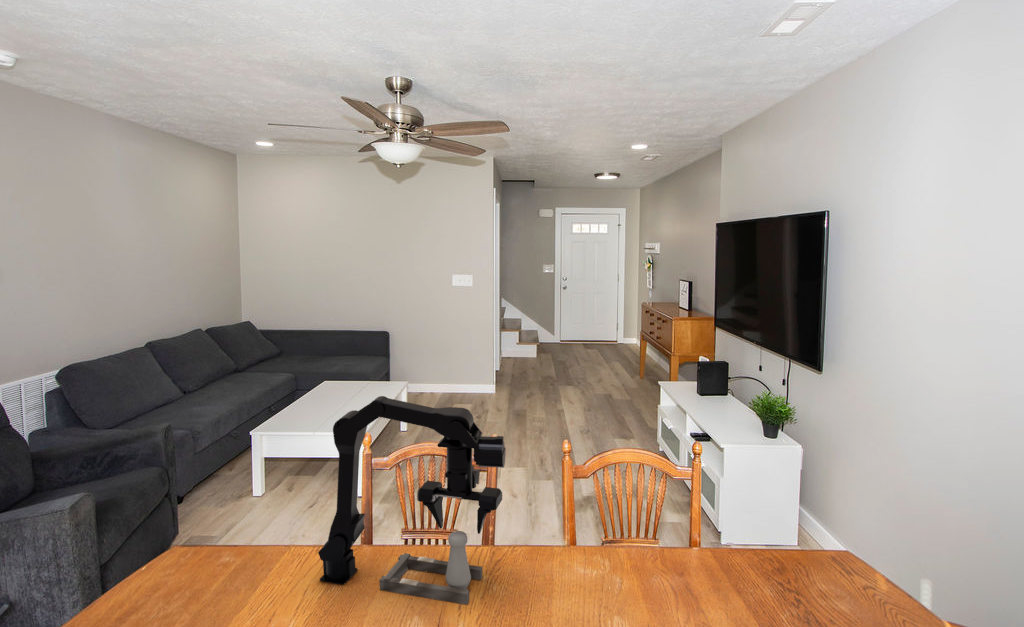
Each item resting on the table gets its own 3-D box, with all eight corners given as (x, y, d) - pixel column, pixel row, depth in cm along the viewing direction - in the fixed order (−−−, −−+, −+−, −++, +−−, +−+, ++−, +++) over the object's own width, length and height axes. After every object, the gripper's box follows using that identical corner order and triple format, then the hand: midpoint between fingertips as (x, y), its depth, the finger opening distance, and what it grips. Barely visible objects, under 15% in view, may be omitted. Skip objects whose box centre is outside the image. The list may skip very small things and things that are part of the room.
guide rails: (379, 590, 130) (379, 577, 130) (401, 564, 141) (401, 552, 140) (466, 604, 125) (466, 592, 124) (482, 576, 135) (482, 564, 135)
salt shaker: (467, 596, 128) (466, 541, 126) (442, 593, 129) (441, 539, 127) (474, 581, 133) (473, 528, 132) (450, 578, 134) (449, 526, 133)
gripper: (508, 456, 135) (508, 519, 137) (434, 449, 139) (435, 510, 141) (495, 474, 124) (495, 542, 126) (415, 466, 129) (416, 531, 131)
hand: (460, 530), depth 131 cm, fingers open, 9 cm apart
